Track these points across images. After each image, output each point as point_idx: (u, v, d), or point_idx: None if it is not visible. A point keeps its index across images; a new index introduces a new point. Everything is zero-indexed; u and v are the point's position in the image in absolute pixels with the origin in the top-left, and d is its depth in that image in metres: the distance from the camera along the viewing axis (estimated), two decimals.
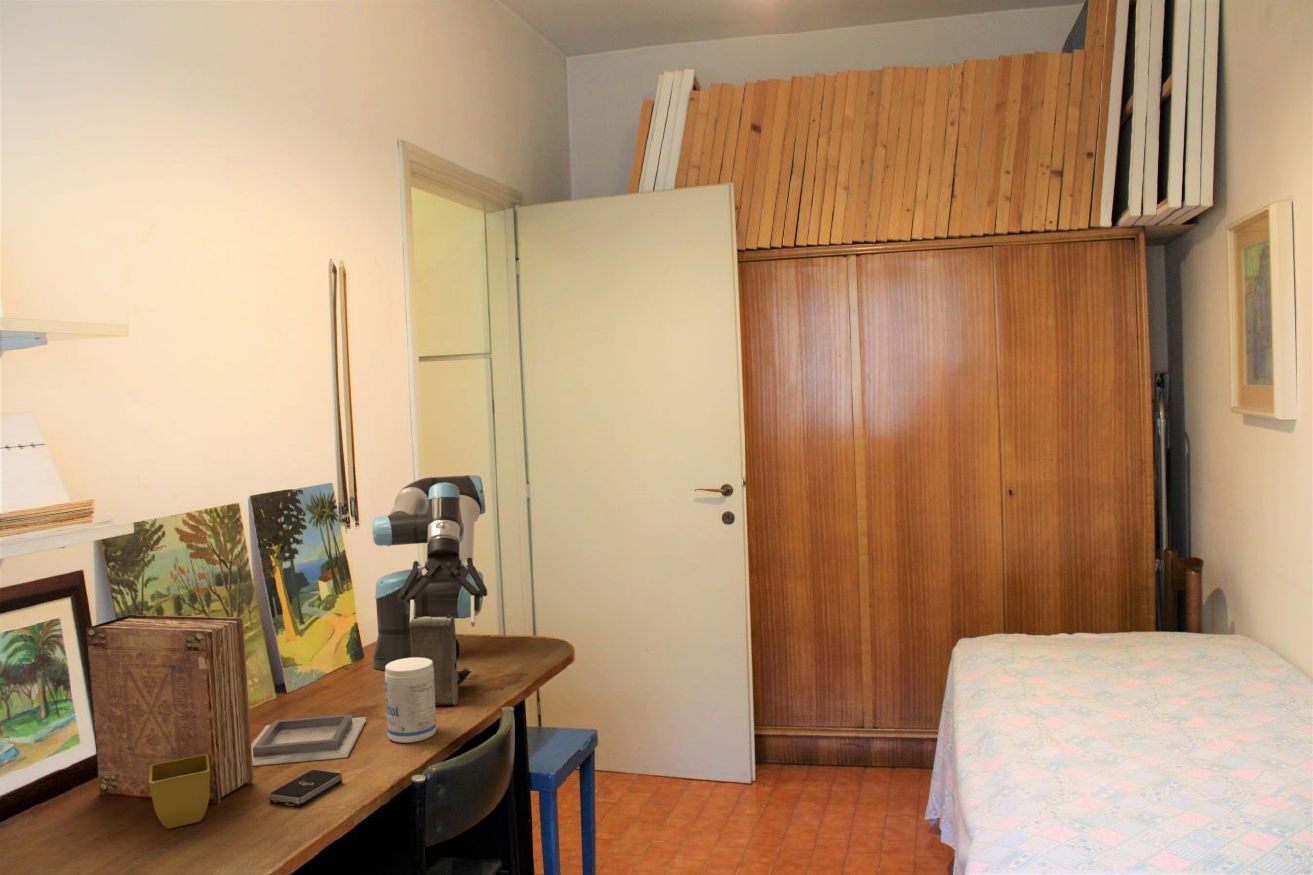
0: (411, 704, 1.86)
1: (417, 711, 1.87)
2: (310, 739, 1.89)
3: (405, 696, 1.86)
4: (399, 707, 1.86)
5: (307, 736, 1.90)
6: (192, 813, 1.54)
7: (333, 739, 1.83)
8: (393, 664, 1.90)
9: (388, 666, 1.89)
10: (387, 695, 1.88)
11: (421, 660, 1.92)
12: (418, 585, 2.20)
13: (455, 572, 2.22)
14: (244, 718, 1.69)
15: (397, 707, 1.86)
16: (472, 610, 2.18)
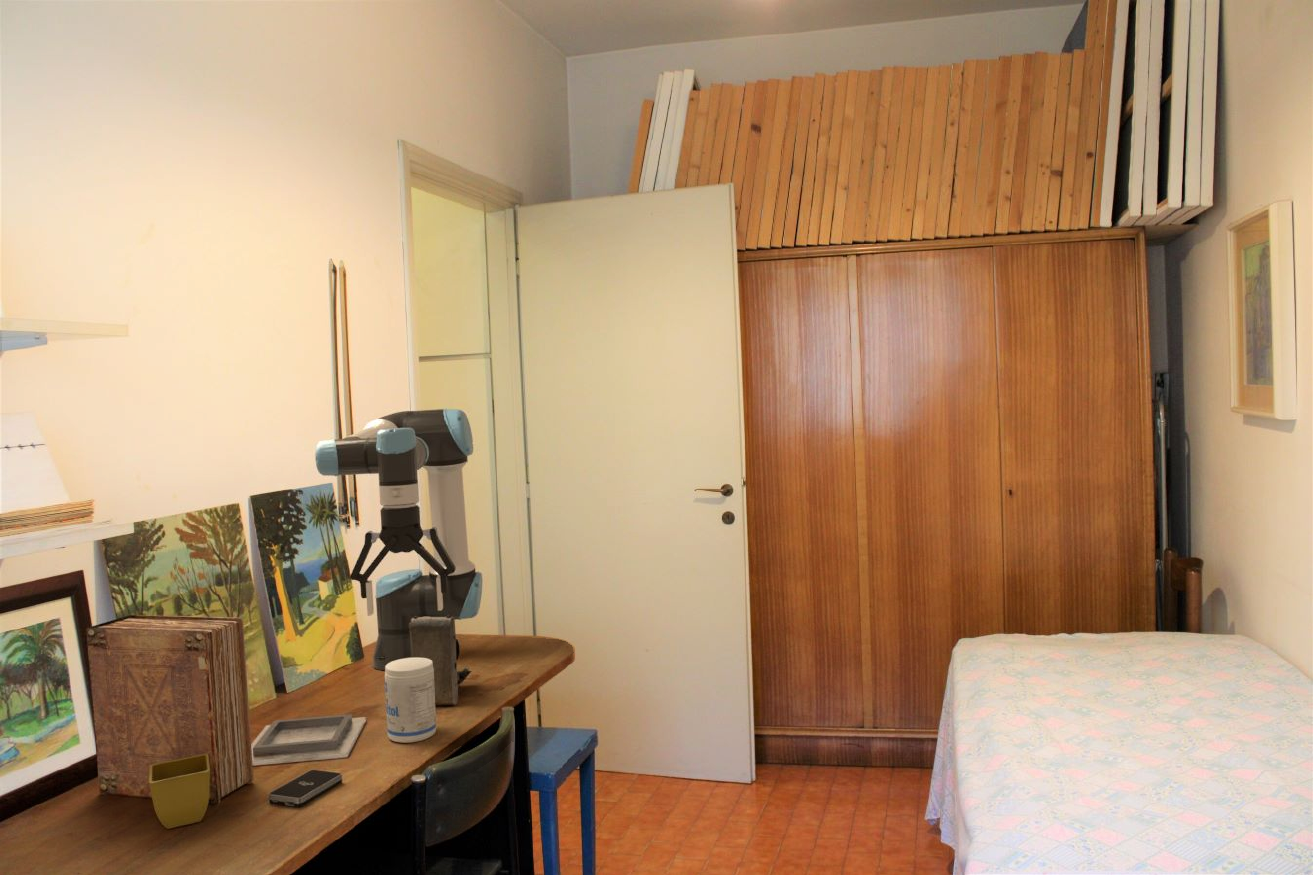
0: (411, 704, 1.86)
1: (417, 711, 1.87)
2: (310, 739, 1.89)
3: (405, 696, 1.86)
4: (399, 707, 1.86)
5: (307, 736, 1.90)
6: (192, 813, 1.54)
7: (333, 739, 1.83)
8: (393, 664, 1.90)
9: (388, 666, 1.89)
10: (387, 695, 1.88)
11: (421, 660, 1.92)
12: (373, 564, 1.88)
13: (416, 549, 1.88)
14: (244, 718, 1.69)
15: (397, 707, 1.86)
16: (439, 596, 1.89)
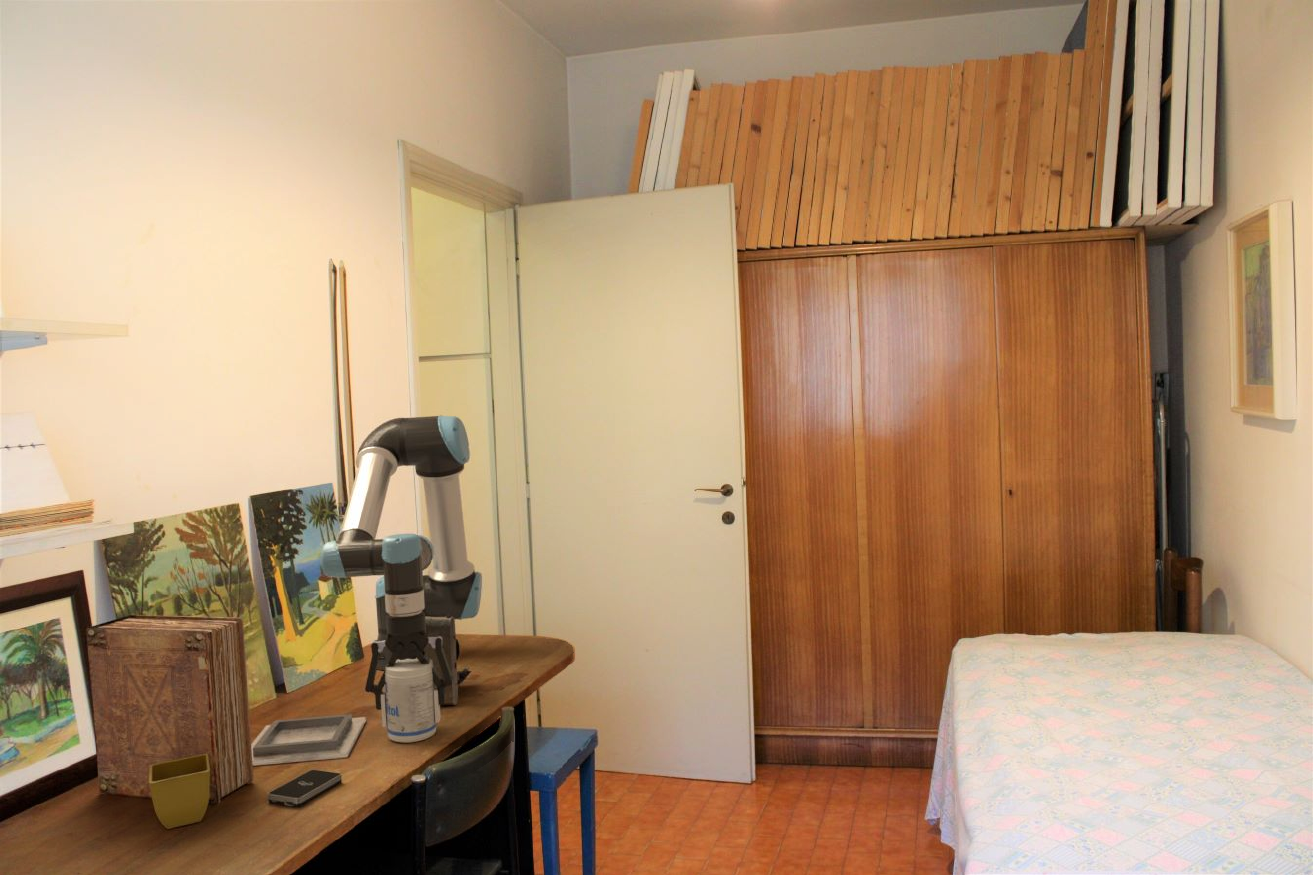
0: (411, 704, 1.86)
1: (417, 711, 1.87)
2: (310, 739, 1.89)
3: (405, 696, 1.86)
4: (399, 707, 1.86)
5: (307, 736, 1.90)
6: (192, 813, 1.54)
7: (333, 739, 1.83)
8: None
9: None
10: (387, 695, 1.88)
11: None
12: None
13: (419, 658, 1.89)
14: (244, 718, 1.69)
15: (397, 707, 1.86)
16: (436, 708, 1.90)
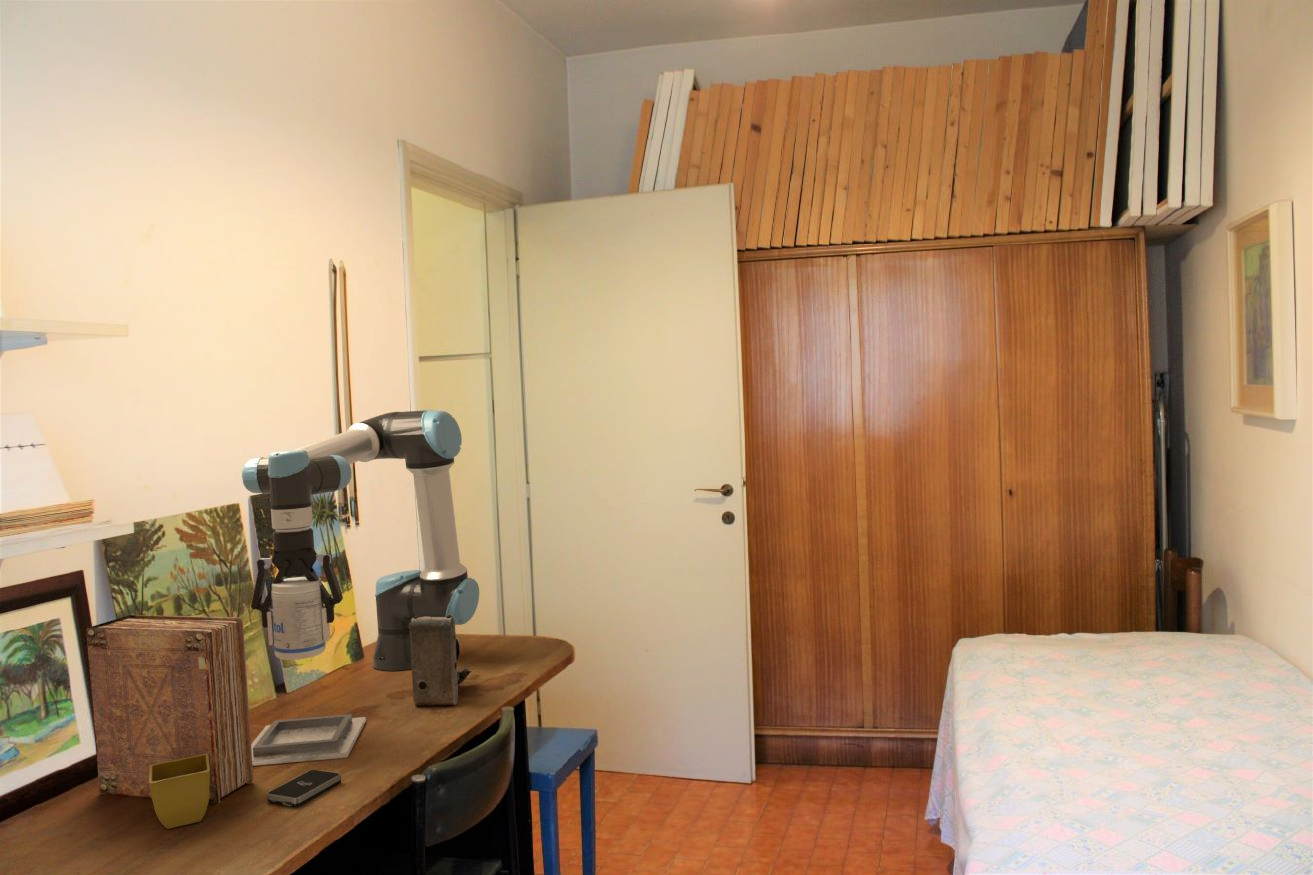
0: (296, 620, 1.84)
1: (303, 628, 1.84)
2: (310, 739, 1.89)
3: (290, 612, 1.83)
4: (284, 624, 1.84)
5: (307, 736, 1.90)
6: (192, 813, 1.54)
7: (333, 739, 1.83)
8: None
9: None
10: (273, 612, 1.85)
11: None
12: None
13: (306, 575, 1.86)
14: (244, 718, 1.69)
15: (282, 624, 1.84)
16: (324, 626, 1.88)
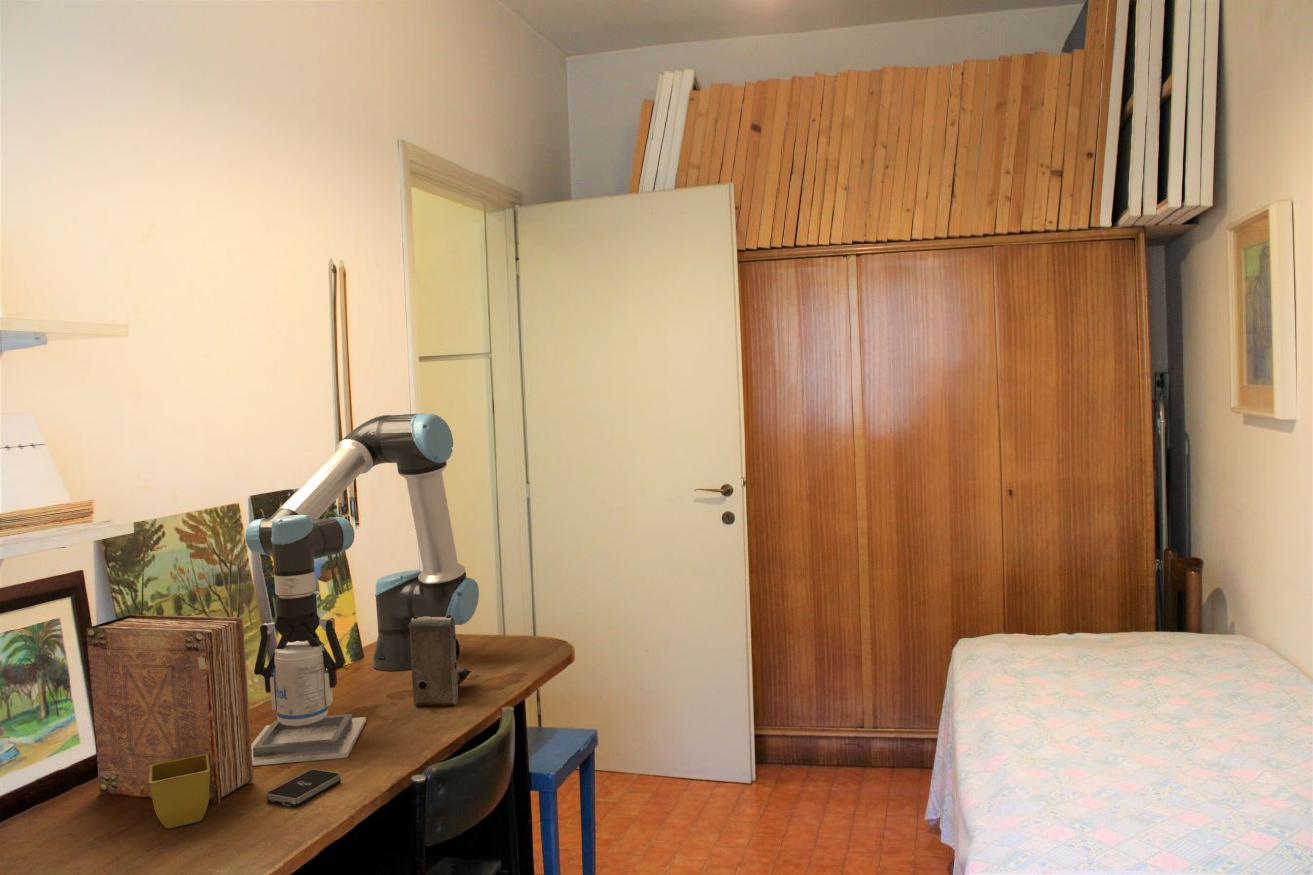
0: (299, 686, 1.84)
1: (306, 694, 1.85)
2: (310, 739, 1.89)
3: (292, 678, 1.84)
4: (287, 690, 1.84)
5: (307, 736, 1.90)
6: (192, 813, 1.54)
7: (333, 739, 1.83)
8: None
9: None
10: (276, 678, 1.86)
11: None
12: None
13: (309, 640, 1.87)
14: (244, 718, 1.69)
15: (285, 690, 1.84)
16: (327, 691, 1.88)
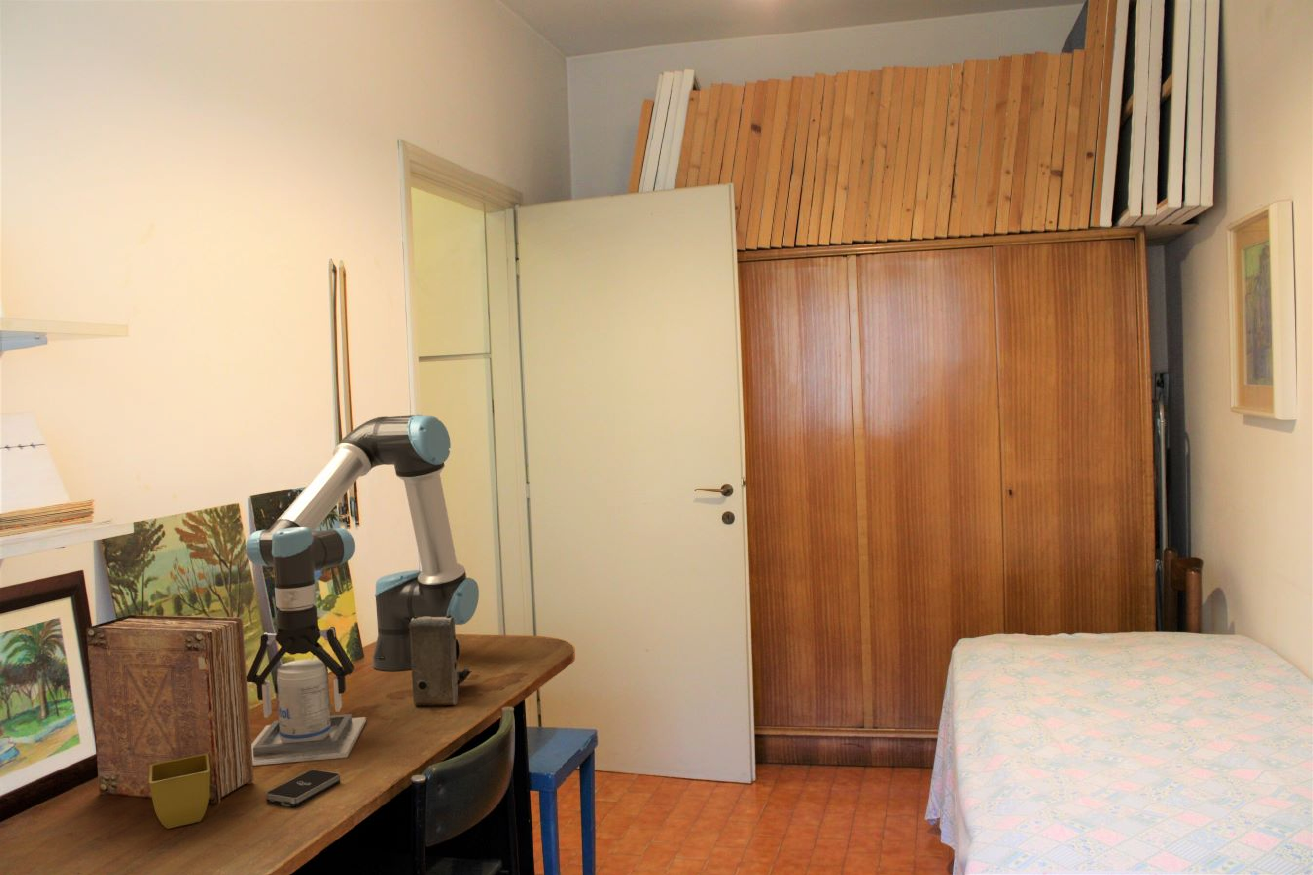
0: (301, 706, 1.84)
1: (309, 713, 1.85)
2: None
3: (295, 698, 1.84)
4: (290, 710, 1.84)
5: None
6: (192, 813, 1.54)
7: (333, 739, 1.83)
8: (286, 666, 1.89)
9: (280, 668, 1.87)
10: (279, 697, 1.86)
11: (316, 662, 1.91)
12: (269, 666, 1.87)
13: (313, 651, 1.87)
14: (244, 718, 1.69)
15: (288, 710, 1.85)
16: (336, 697, 1.89)
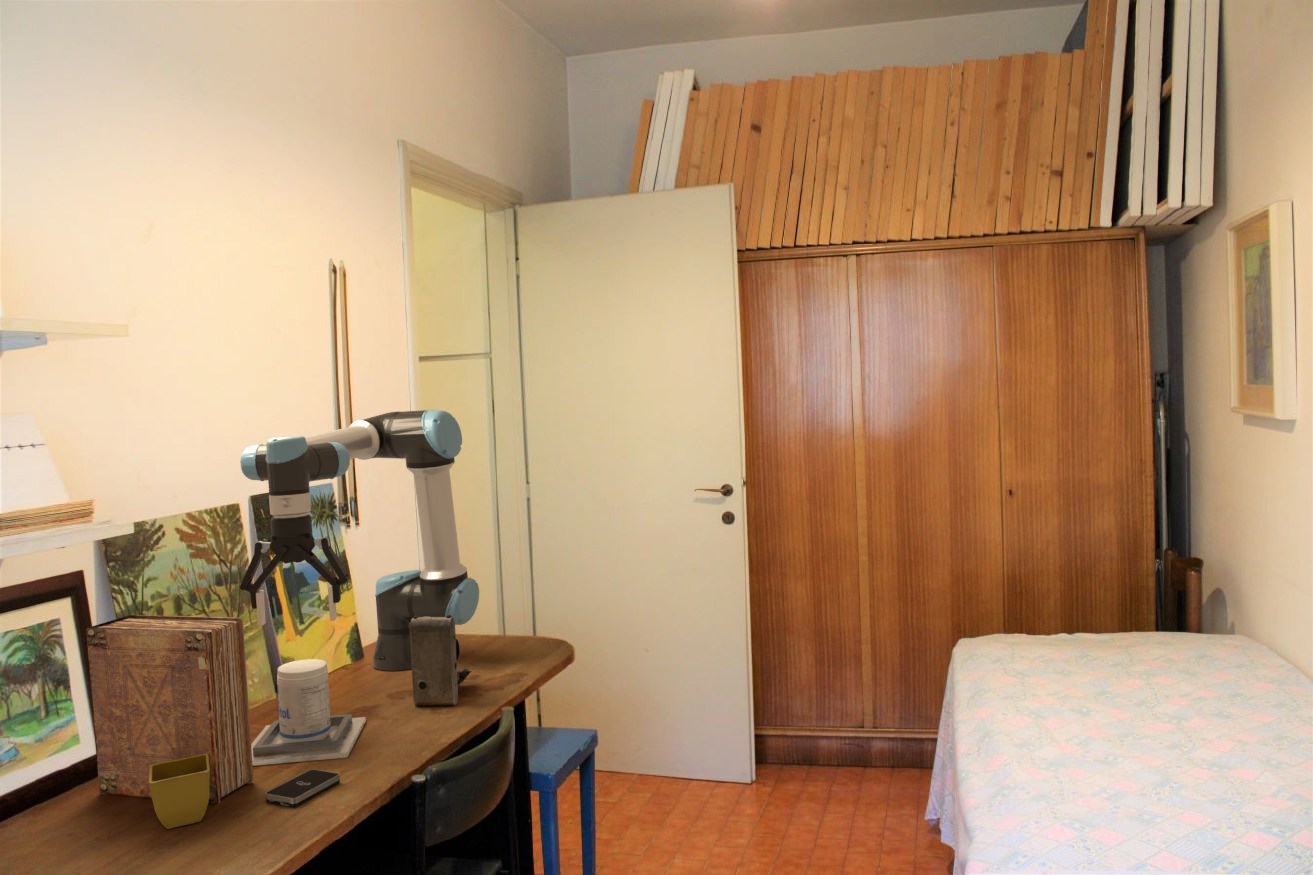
0: (301, 706, 1.84)
1: (309, 713, 1.85)
2: None
3: (295, 698, 1.84)
4: (290, 710, 1.84)
5: None
6: (192, 813, 1.54)
7: (333, 739, 1.83)
8: (286, 666, 1.89)
9: (280, 668, 1.87)
10: (279, 697, 1.86)
11: (316, 662, 1.91)
12: (263, 574, 1.86)
13: (307, 559, 1.86)
14: (244, 718, 1.69)
15: (288, 710, 1.85)
16: (331, 606, 1.88)
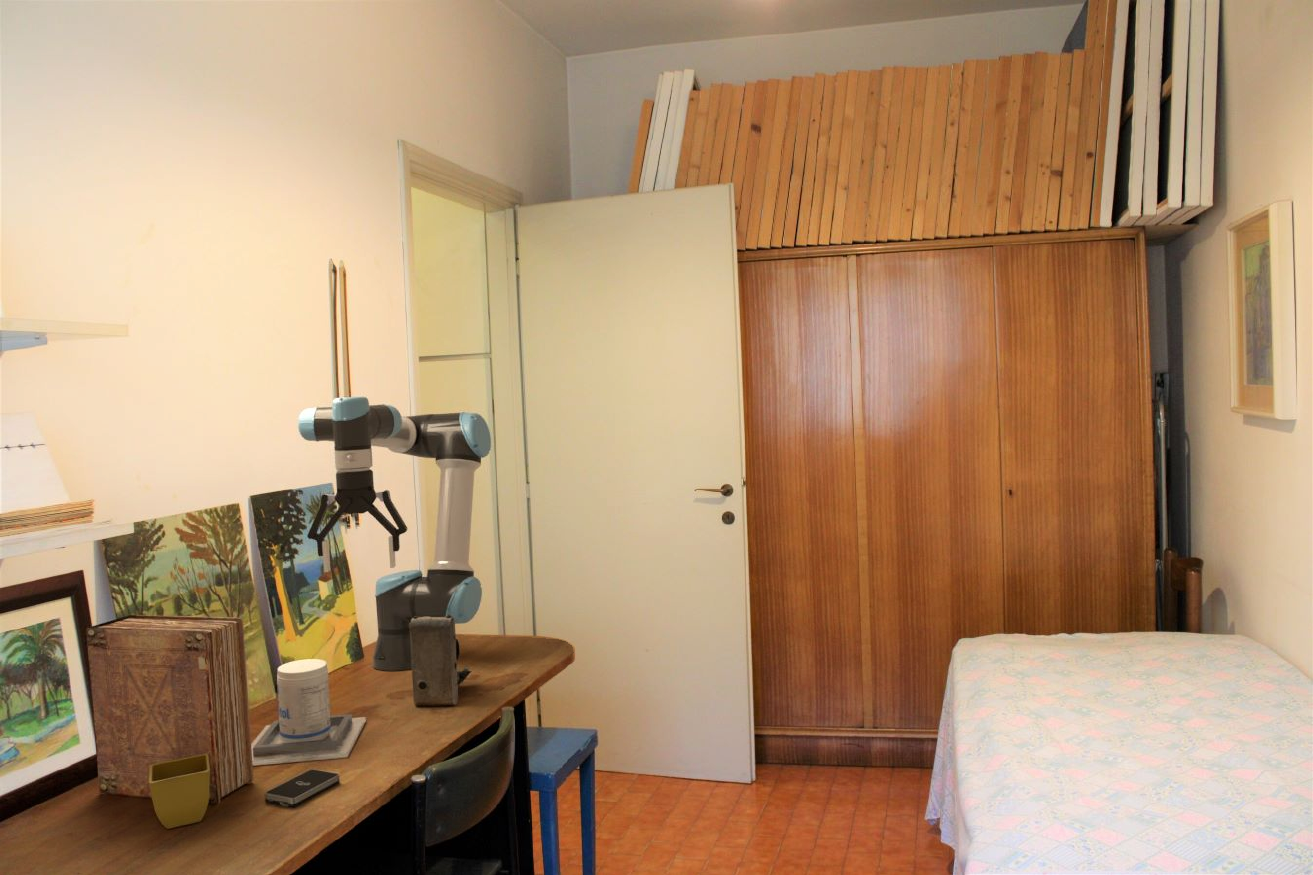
0: (301, 706, 1.84)
1: (309, 713, 1.85)
2: None
3: (295, 698, 1.84)
4: (290, 710, 1.84)
5: None
6: (192, 813, 1.54)
7: (333, 739, 1.83)
8: (286, 666, 1.89)
9: (280, 668, 1.87)
10: (279, 697, 1.86)
11: (316, 662, 1.91)
12: (329, 524, 2.01)
13: (369, 510, 2.01)
14: (244, 718, 1.69)
15: (288, 710, 1.85)
16: (391, 554, 2.02)
